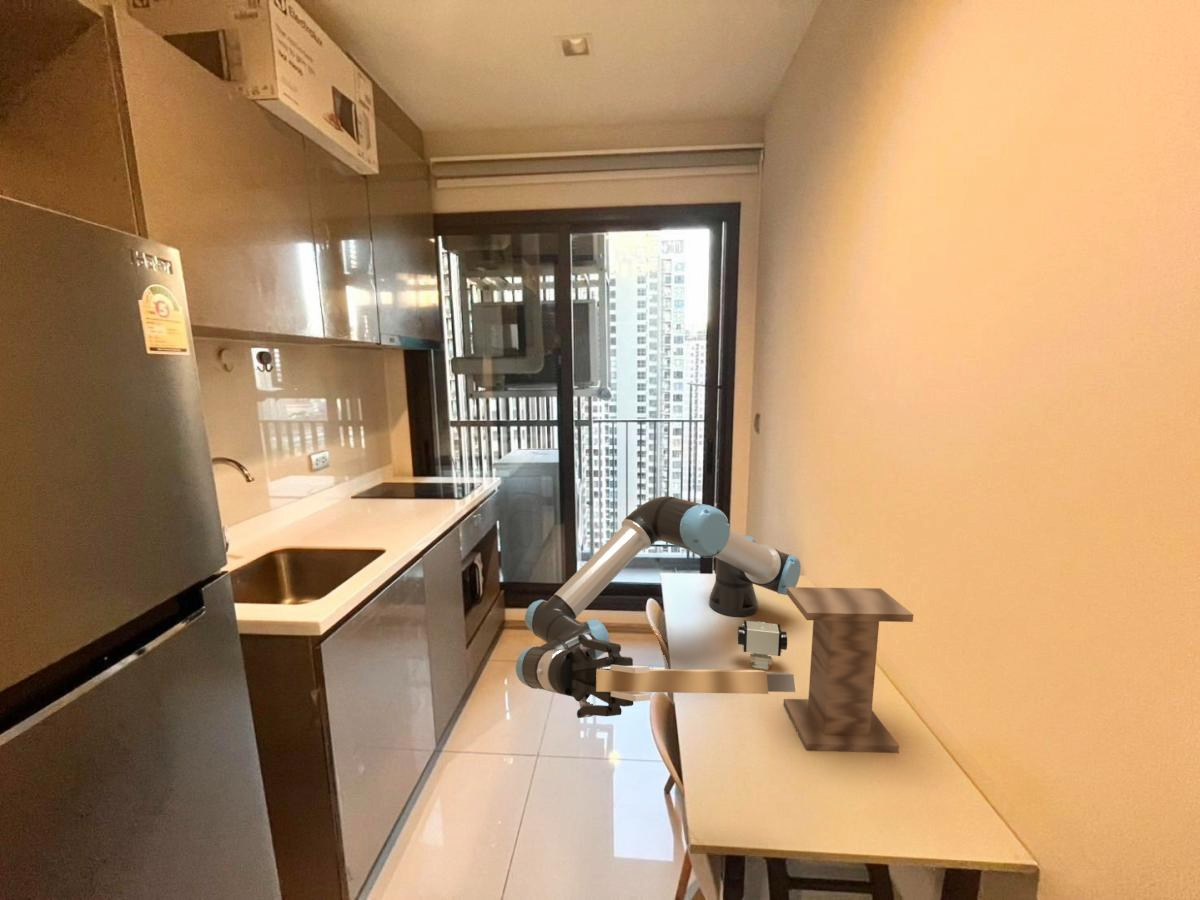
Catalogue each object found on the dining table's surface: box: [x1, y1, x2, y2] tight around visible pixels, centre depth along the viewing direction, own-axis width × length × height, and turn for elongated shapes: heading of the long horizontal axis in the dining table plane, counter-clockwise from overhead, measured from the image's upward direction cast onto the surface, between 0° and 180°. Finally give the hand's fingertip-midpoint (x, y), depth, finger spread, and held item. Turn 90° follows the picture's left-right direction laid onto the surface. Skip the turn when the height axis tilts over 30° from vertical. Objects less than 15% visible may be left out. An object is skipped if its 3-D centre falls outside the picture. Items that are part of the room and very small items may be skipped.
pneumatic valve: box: [737, 620, 788, 671], centre depth 128 cm, size 6×12×12 cm, turn 77°
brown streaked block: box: [596, 668, 796, 695], centre depth 78 cm, size 30×3×3 cm
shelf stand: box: [782, 586, 914, 754], centre depth 104 cm, size 20×14×28 cm
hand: (642, 683), depth 74 cm, fingers closed on brown streaked block, 3 cm apart
